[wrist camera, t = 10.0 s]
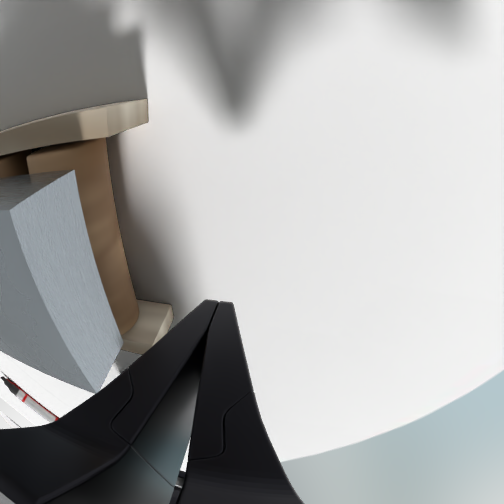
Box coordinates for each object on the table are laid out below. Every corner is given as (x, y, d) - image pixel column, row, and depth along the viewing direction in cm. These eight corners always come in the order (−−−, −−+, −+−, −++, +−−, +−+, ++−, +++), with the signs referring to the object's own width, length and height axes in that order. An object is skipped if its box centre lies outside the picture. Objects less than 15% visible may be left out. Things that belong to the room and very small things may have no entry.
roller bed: (173, 317, 16) (152, 367, 13) (-21, 272, 18) (-43, 296, 15) (147, 98, 10) (94, 110, 7) (-57, 154, 12) (-87, 172, 9)
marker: (72, 425, 37) (68, 434, 35) (69, 425, 38) (65, 434, 36) (3, 371, 32) (-2, 379, 30) (3, 373, 33) (-2, 381, 31)
